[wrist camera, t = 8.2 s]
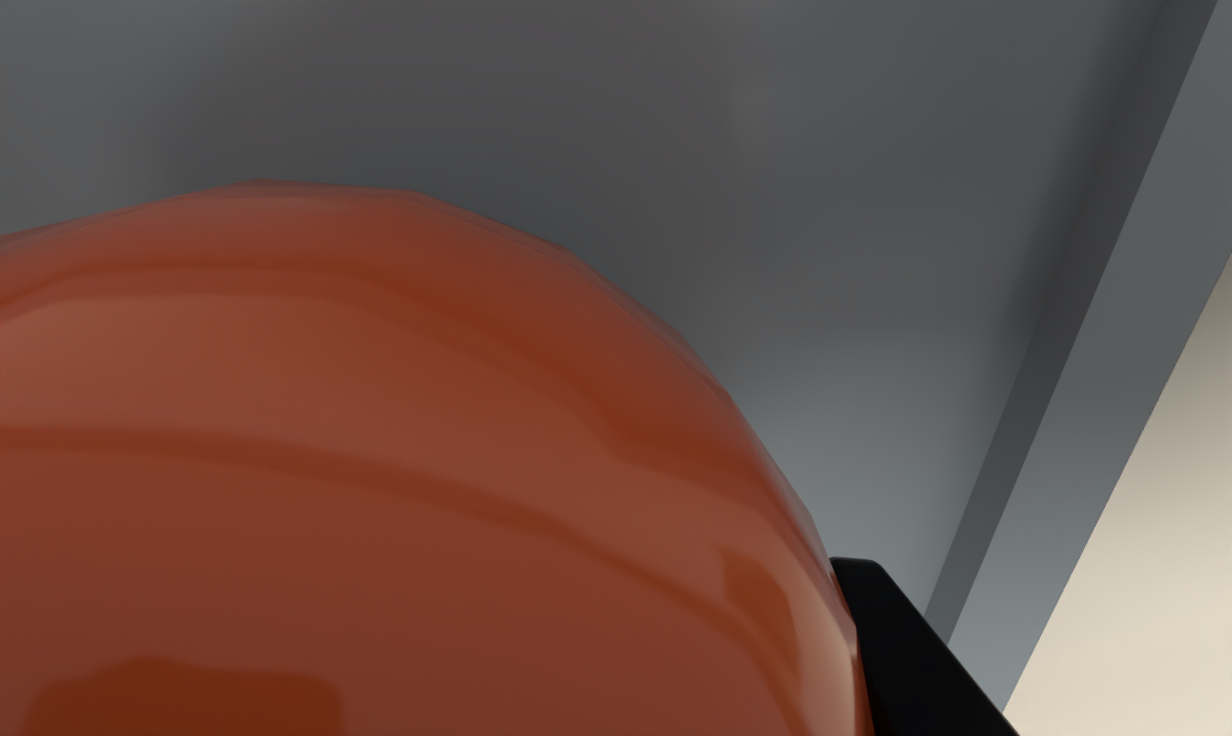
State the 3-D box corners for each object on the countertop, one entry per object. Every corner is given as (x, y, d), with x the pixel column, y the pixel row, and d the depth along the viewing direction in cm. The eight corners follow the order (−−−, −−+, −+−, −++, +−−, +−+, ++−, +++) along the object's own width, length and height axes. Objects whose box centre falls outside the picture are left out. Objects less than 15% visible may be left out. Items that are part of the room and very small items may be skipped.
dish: (916, 721, 16) (941, 834, 14) (-3, 645, 15) (-72, 752, 14) (1401, -436, 7) (1581, -452, 6) (-544, -636, 7) (-849, -707, 6)
